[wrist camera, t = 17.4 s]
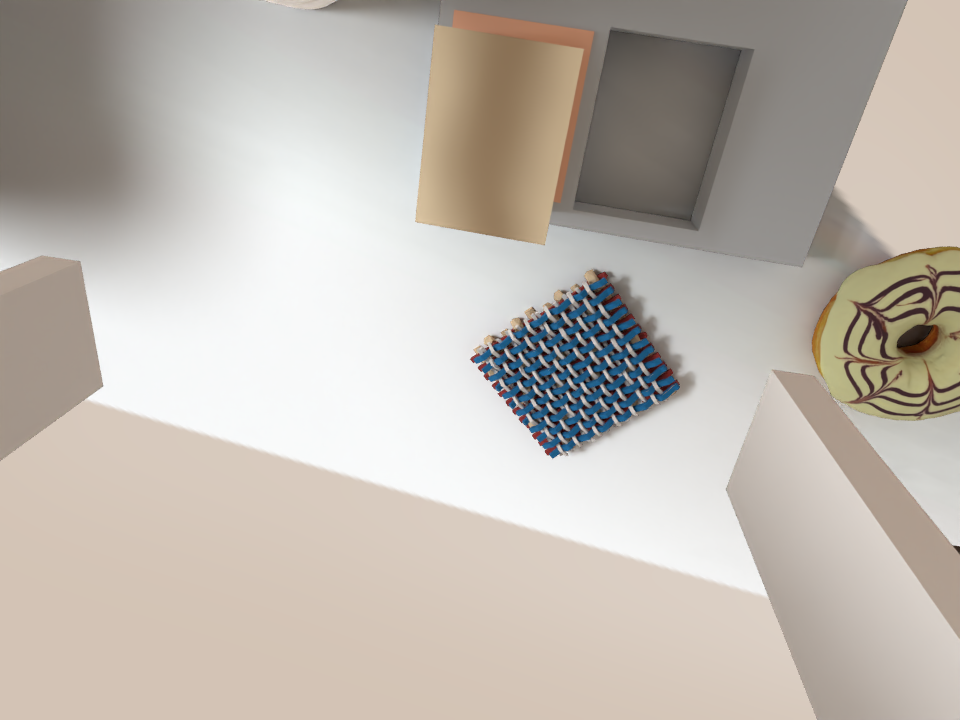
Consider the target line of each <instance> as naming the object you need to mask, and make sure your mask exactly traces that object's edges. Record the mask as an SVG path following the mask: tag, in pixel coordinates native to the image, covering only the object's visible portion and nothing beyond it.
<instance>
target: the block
mask: <svg viewBox="0 0 960 720" xmlns="http://www.w3.org/2000/svg"><path fill="white" fill-rule="evenodd" d="M583 51H584V49H581V48H575V47H569V46H563V45H557V44H551V43H544V42H538V41H532V40H526V39H520V38H514V37H508V36H502V35H496V34H490V33H483V32H477V31H471V30H465V29H459V28H453V27H447V26H441V25H435V29H434V39H433V49H432V59H431V69H430V79H429V89H428V99H427V109H426V119H425V129H424V139H423V149H422V159H421V169H420V179H419V189H418V199H417V210H416V220H415V222H418V223H424V224H429V225H435V226H440V227H446V228H452V229H457V230H463V231H468V232H474V233H479V234H485V235H491V236H496V237H502V238H507V239H513V240H518V241H524V242H530V243H535V244H541V245H545V241H546V236H547V231H548V226H549V221H550V216H551V211H552V206H553V201H554V196H555V191H556V186H557V181H558V176H559V171H560V166H561V161H562V156H563V151H564V146H565V141H566V136H567V131H568V126H569V121H570V116H571V111H572V106H573V101H574V96H575V91H576V86H577V81H578V76H579V71H580V66H581V61H582V56H583Z"/></svg>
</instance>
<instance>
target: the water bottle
mask: <svg viewBox="0 0 960 720" xmlns="http://www.w3.org/2000/svg"><path fill="white" fill-rule="evenodd" d="M261 1H267V2H271V3H275V4H281V5H285V6H288V7H293V8H298V9H318V8H323V7H326V6H328V5H329V4H331V3H333V2H335V1H337V0H261Z"/></svg>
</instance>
